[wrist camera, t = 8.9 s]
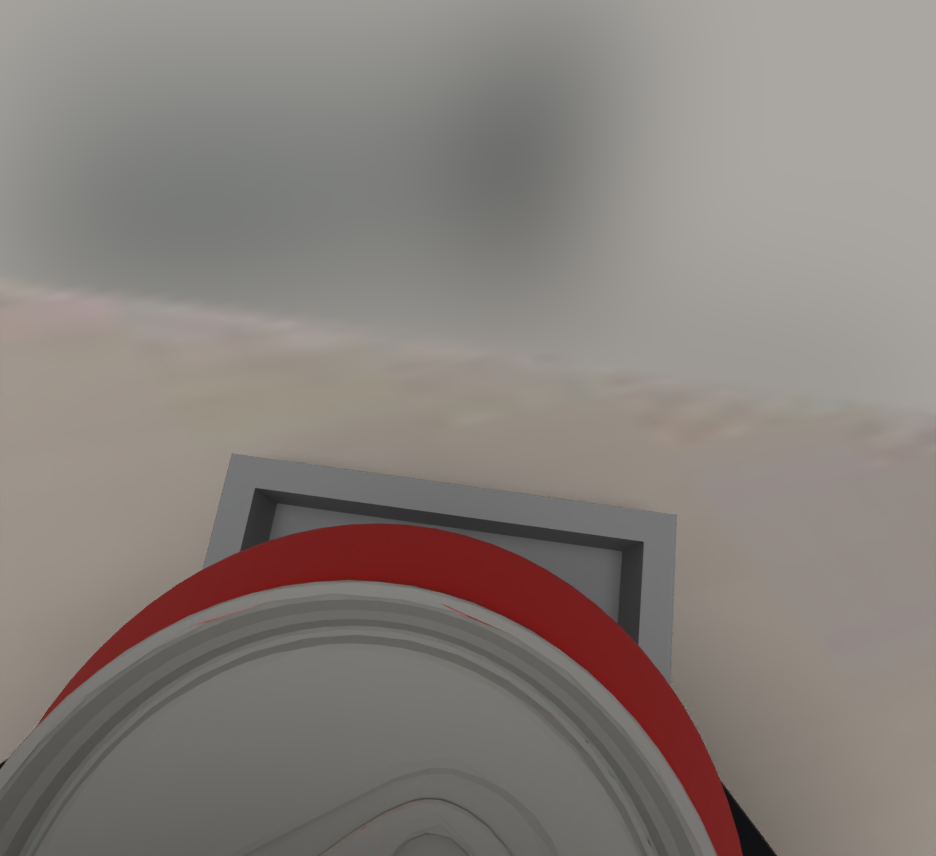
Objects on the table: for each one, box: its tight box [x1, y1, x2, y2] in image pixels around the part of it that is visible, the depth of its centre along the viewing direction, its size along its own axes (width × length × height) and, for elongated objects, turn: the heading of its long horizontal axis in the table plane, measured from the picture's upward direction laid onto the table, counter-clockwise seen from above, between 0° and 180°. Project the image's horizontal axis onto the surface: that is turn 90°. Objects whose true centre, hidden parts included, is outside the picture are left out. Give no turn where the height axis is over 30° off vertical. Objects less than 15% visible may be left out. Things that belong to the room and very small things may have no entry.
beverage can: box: [0, 523, 743, 856], centre depth 10 cm, size 7×7×12 cm
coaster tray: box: [203, 454, 677, 685], centre depth 17 cm, size 12×12×3 cm
